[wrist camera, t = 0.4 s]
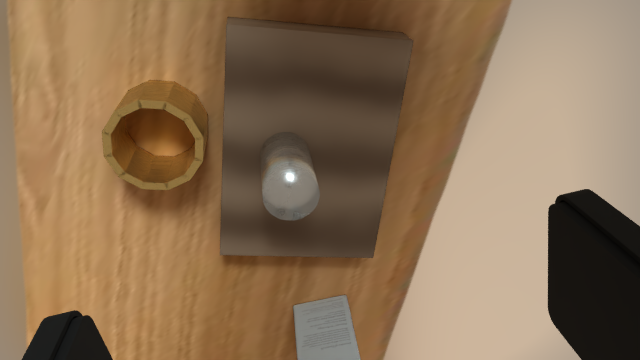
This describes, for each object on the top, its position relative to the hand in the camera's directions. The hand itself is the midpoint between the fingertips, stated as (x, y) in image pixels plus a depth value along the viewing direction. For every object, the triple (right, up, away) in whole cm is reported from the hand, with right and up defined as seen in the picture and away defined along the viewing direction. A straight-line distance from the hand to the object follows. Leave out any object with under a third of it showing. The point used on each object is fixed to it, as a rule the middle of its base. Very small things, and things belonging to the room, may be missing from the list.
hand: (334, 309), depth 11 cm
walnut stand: (-2, +6, +35) cm, 36 cm away
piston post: (-3, +5, +32) cm, 33 cm away
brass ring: (-13, +7, +33) cm, 36 cm away
